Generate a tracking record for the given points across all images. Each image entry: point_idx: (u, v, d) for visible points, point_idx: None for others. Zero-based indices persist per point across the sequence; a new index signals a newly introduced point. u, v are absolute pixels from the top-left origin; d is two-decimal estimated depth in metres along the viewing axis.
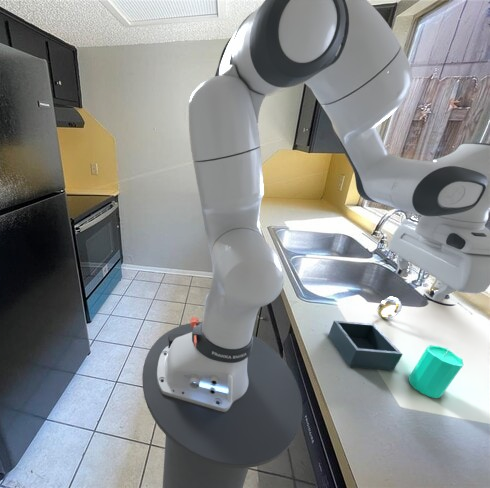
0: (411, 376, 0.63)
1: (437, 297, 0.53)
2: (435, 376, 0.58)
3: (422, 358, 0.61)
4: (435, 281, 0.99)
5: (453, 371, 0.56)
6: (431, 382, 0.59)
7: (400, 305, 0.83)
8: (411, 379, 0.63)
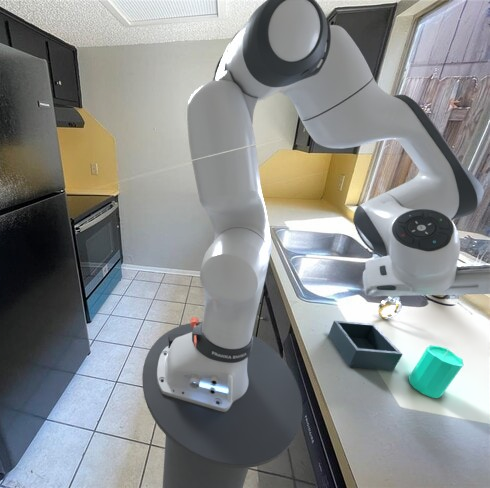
0: (411, 376, 0.63)
1: None
2: (435, 376, 0.58)
3: (422, 358, 0.61)
4: None
5: (453, 371, 0.56)
6: (431, 382, 0.59)
7: (400, 305, 0.83)
8: (411, 379, 0.63)
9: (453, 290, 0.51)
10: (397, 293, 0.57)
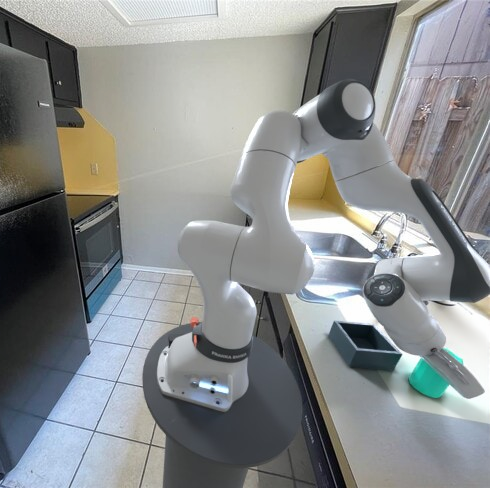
0: (412, 376, 0.63)
1: None
2: (435, 376, 0.58)
3: None
4: None
5: None
6: (431, 382, 0.59)
7: None
8: (411, 379, 0.63)
9: (434, 369, 0.55)
10: None
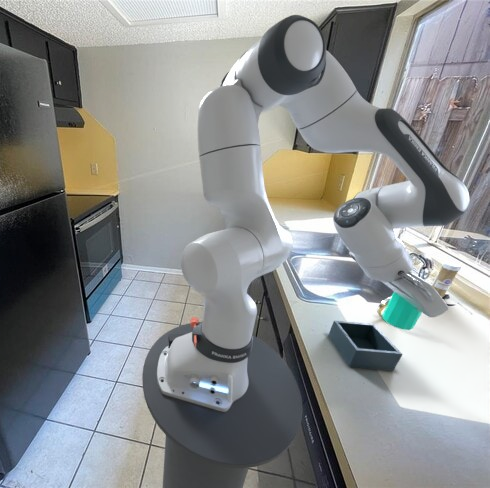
0: (385, 312, 0.64)
1: None
2: (406, 306, 0.59)
3: (394, 292, 0.62)
4: (435, 281, 0.99)
5: None
6: (402, 314, 0.60)
7: None
8: (384, 314, 0.64)
9: (403, 295, 0.56)
10: None
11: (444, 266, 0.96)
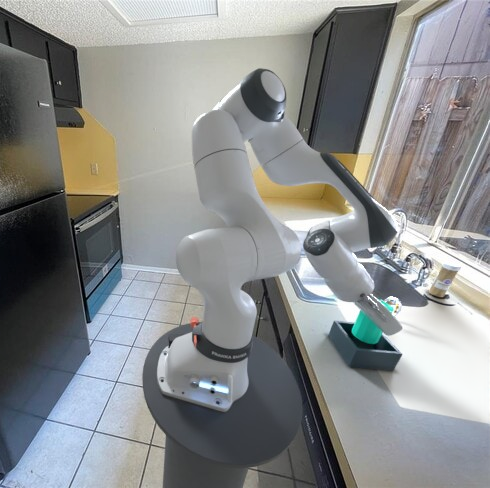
0: (353, 327, 0.70)
1: None
2: (370, 323, 0.65)
3: None
4: (435, 281, 0.99)
5: None
6: (367, 329, 0.66)
7: (400, 305, 0.83)
8: (353, 329, 0.70)
9: (366, 314, 0.62)
10: None
11: (444, 266, 0.96)
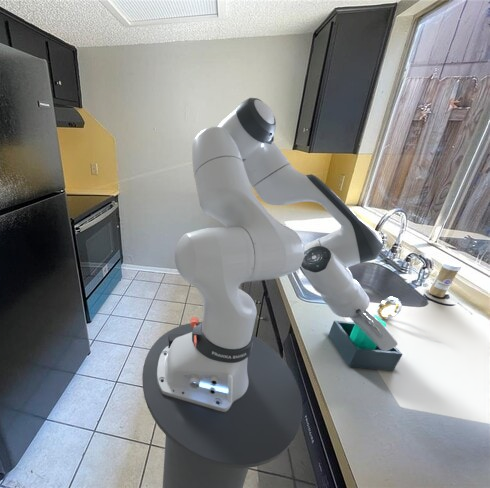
0: None
1: None
2: (364, 339, 0.67)
3: (355, 324, 0.70)
4: (435, 281, 0.99)
5: None
6: (361, 345, 0.68)
7: (400, 305, 0.83)
8: None
9: (362, 329, 0.63)
10: None
11: (444, 266, 0.96)
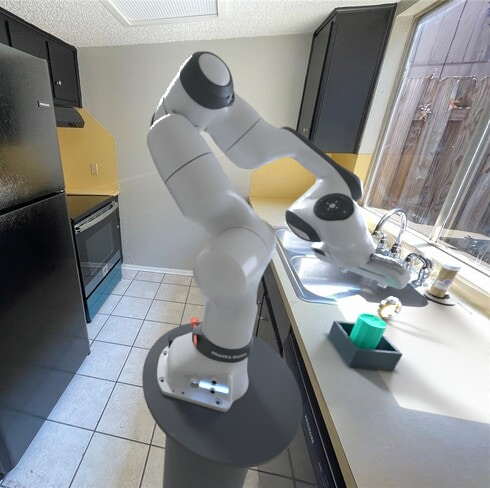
0: None
1: None
2: (364, 339, 0.67)
3: (355, 324, 0.70)
4: (435, 281, 0.99)
5: (377, 333, 0.65)
6: (361, 345, 0.68)
7: (400, 305, 0.83)
8: None
9: (370, 275, 0.61)
10: (336, 264, 0.68)
11: (444, 266, 0.96)
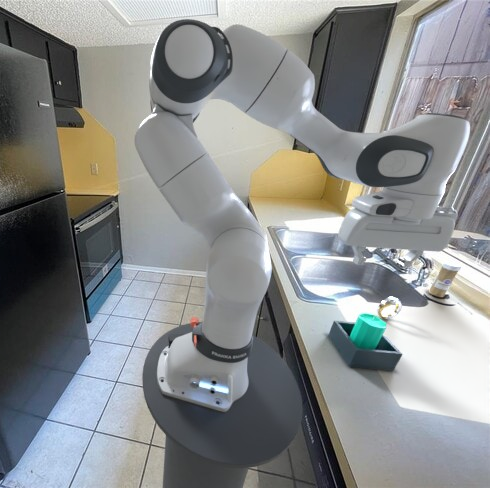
0: None
1: (354, 258, 0.58)
2: (364, 339, 0.67)
3: (355, 324, 0.70)
4: (435, 281, 0.99)
5: (377, 333, 0.65)
6: (361, 345, 0.68)
7: (400, 305, 0.83)
8: None
9: (420, 238, 0.52)
10: (376, 240, 0.53)
11: (444, 266, 0.96)
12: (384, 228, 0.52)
